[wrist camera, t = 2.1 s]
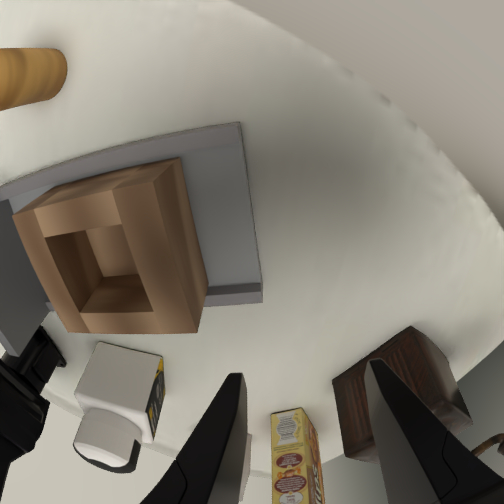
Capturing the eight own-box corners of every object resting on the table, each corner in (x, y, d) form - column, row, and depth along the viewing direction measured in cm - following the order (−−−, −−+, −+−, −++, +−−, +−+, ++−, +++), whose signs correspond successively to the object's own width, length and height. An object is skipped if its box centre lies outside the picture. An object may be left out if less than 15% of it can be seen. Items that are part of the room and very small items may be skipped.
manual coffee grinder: (381, 406, 33) (407, 531, 17) (328, 379, 29) (349, 544, 14) (482, 334, 26) (544, 460, 11) (451, 287, 23) (543, 457, 7)
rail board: (49, 298, 25) (9, 354, 18) (2, 185, 19) (-60, 227, 12) (262, 285, 23) (262, 370, 16) (239, 122, 17) (224, 145, 10)
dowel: (31, 108, 16) (-59, 137, 8) (25, 61, 14) (-66, 74, 6) (70, 89, 16) (-26, 108, 8) (64, 39, 14) (-31, 37, 6)
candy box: (269, 413, 33) (268, 531, 20) (303, 406, 32) (311, 528, 19) (291, 439, 37) (294, 536, 24) (320, 432, 36) (328, 531, 23)
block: (94, 291, 23) (68, 332, 18) (54, 186, 18) (11, 215, 14) (208, 283, 22) (197, 332, 17) (180, 156, 17) (152, 181, 13)
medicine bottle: (165, 392, 31) (144, 485, 21) (109, 378, 31) (78, 463, 21) (163, 355, 28) (133, 464, 18) (98, 339, 27) (54, 437, 17)
